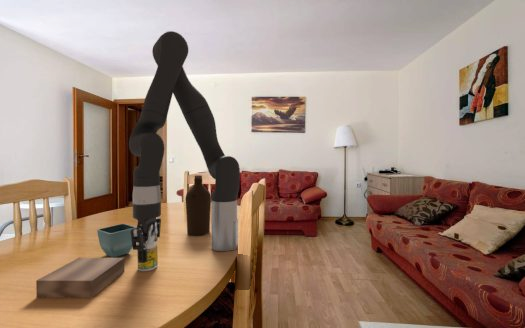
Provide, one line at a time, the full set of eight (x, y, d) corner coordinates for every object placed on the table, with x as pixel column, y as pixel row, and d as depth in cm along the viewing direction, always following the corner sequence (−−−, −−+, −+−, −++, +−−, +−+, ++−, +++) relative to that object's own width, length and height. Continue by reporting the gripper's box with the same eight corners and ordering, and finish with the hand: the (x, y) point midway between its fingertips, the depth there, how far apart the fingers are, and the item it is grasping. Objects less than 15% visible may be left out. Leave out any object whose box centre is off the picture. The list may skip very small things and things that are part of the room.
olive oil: (213, 234, 103) (213, 175, 102) (187, 238, 99) (186, 176, 98) (208, 228, 113) (208, 174, 112) (184, 230, 108) (184, 175, 108)
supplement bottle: (155, 262, 76) (155, 231, 75) (159, 269, 71) (158, 236, 71) (136, 266, 73) (136, 234, 72) (138, 273, 68) (138, 239, 68)
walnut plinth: (124, 271, 69) (124, 257, 69) (92, 297, 56) (92, 280, 56) (79, 271, 69) (78, 257, 69) (36, 297, 56) (36, 280, 56)
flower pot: (110, 262, 76) (110, 233, 76) (96, 256, 81) (96, 229, 80) (137, 252, 83) (137, 226, 83) (123, 247, 88) (123, 223, 88)
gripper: (148, 205, 64) (148, 269, 65) (169, 197, 79) (169, 248, 79) (119, 205, 64) (120, 269, 65) (146, 197, 79) (146, 248, 79)
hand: (147, 257), depth 72 cm, fingers closed on supplement bottle, 5 cm apart
